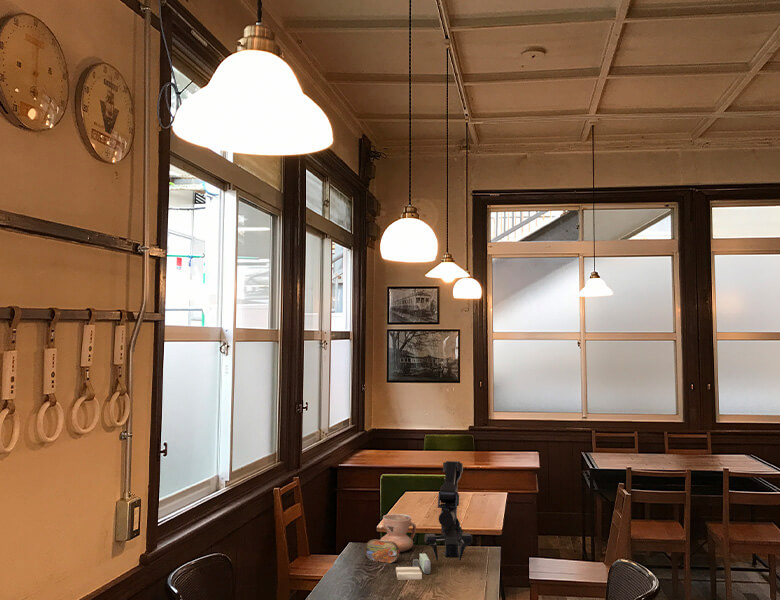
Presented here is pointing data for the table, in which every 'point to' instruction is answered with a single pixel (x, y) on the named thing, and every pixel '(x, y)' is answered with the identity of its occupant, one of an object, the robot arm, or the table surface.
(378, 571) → the table surface
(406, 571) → the stool seat
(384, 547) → the tin
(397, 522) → the ceramic jug
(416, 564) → the leg stop
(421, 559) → the stool leg
